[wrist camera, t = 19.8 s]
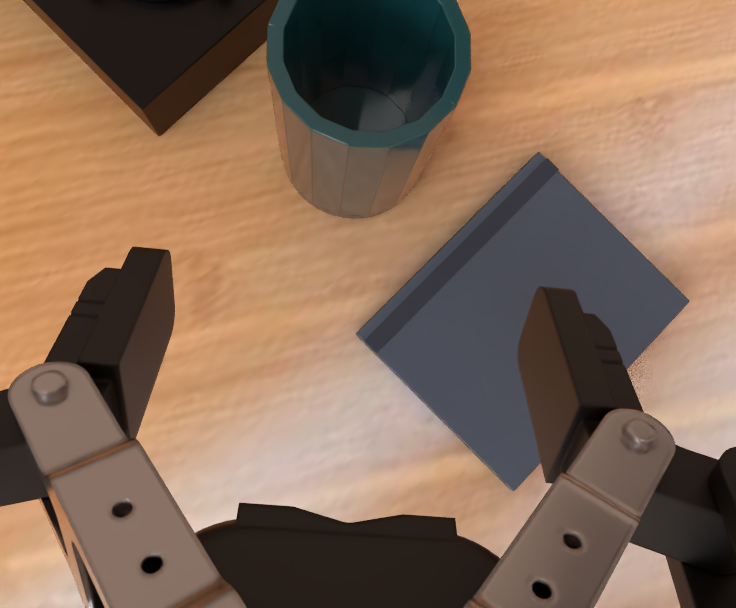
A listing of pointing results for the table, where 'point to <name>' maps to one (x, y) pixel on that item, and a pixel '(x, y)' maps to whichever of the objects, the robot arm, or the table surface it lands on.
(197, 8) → the stove
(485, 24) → the table surface
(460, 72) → the dark teal cup
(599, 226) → the grey notebook
